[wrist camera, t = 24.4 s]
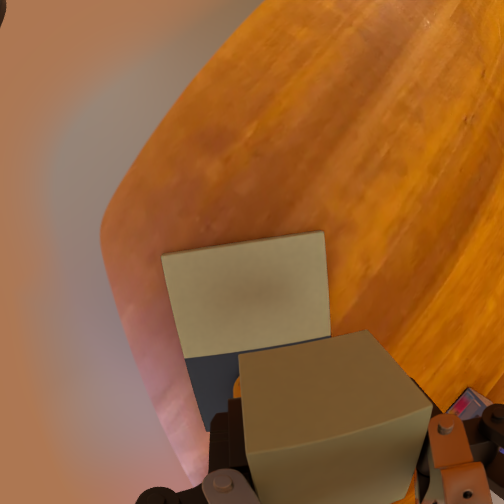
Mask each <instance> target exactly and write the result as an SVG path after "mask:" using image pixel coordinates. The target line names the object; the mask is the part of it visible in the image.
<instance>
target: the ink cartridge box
mask: <svg viewBox="0 0 504 504" xmlns="http://www.w3.org/2000/svg"><path fill="white" fill-rule="evenodd" d="M492 404H493V403H492V402H491V401H490V400H488V399H487V398H485V397H484V396H482V395H481V394H479V393H477V392H476V391H474V390H473V389H471V388H467V390H466V391H465V392H464V393H463V394H462V396H461V397H460V398H459V399H458V400H457V401H456V402H455V403H454V404H453V405H452V407H451V408H450V409H449V410H448V411H447V412H446V413H449V414H453V415H456V416H458V417H459V418H460V419H461V420H468V419H473V418H478V417H481V415H482V412H483V410H484V409H485V408H486V407H487V406H489V405H492ZM499 451H500V452H501V453H503V454H504V449H503V448H500V450H499Z"/></svg>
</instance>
